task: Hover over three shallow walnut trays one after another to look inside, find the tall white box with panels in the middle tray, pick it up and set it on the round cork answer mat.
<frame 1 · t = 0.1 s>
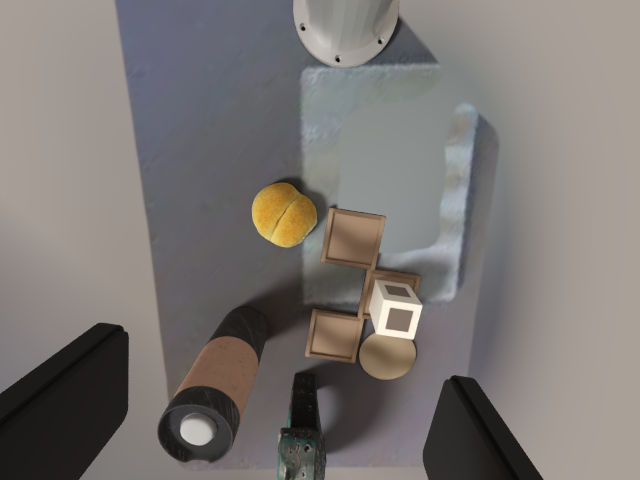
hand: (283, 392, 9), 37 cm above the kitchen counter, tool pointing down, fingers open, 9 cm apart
tray b: (387, 295, 48), on the kitchen counter
answer mat: (387, 354, 51), on the kitchen counter
white box with panels: (388, 296, 48), resting on tray b
ceramic cat: (306, 413, 54), on the kitchen counter
tray c: (333, 334, 50), on the kitchen counter
tray a: (352, 238, 46), on the kitchen counter
bread roll: (286, 213, 45), on the kitchen counter
travel mug: (245, 326, 50), on the kitchen counter
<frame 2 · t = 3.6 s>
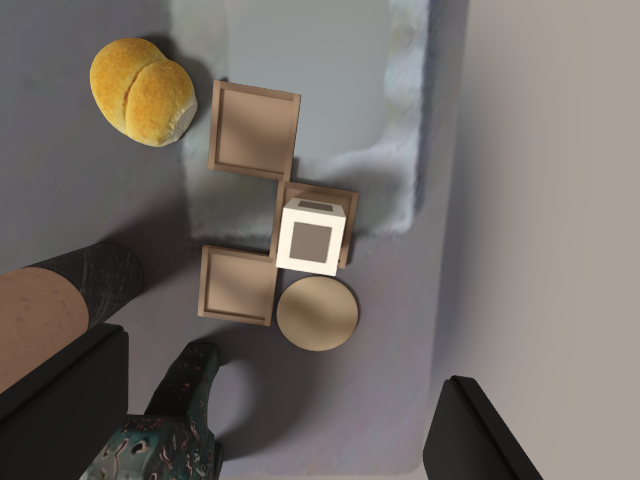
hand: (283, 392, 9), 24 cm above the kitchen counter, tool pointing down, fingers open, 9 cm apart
tray b: (313, 224, 33), on the kitchen counter
answer mat: (317, 313, 35), on the kitchen counter
white box with panels: (313, 225, 32), resting on tray b
ceramic cat: (211, 401, 39), on the kitchen counter
tray c: (239, 284, 34), on the kitchen counter
tray a: (254, 133, 31), on the kitchen counter
bread roll: (154, 97, 30), on the kitchen counter
travel mug: (112, 273, 35), on the kitchen counter
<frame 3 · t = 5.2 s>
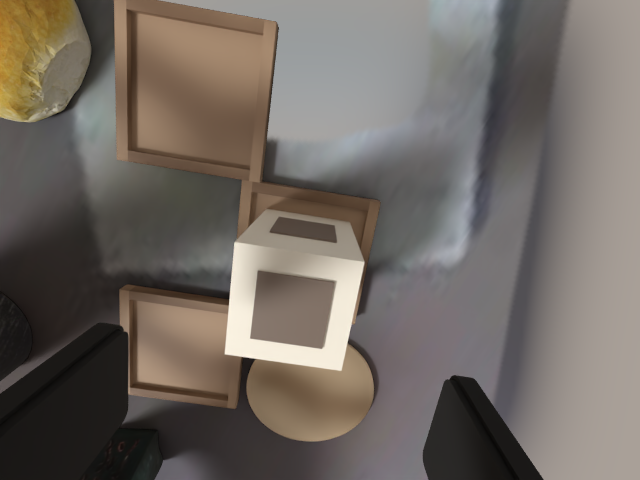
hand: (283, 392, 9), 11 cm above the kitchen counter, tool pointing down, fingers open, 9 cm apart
tray b: (302, 252, 20), on the kitchen counter
answer mat: (310, 387, 23), on the kitchen counter
white box with panels: (302, 254, 19), resting on tray b
tray c: (185, 345, 22), on the kitchen counter
tray a: (197, 97, 17), on the kitchen counter
bread roll: (18, 33, 17), on the kitchen counter
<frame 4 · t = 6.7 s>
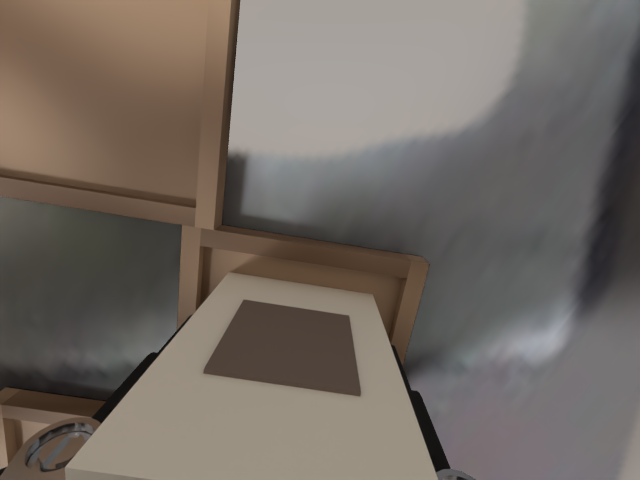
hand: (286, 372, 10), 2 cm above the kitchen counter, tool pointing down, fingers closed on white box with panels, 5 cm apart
tray b: (292, 340, 12), on the kitchen counter
white box with panels: (291, 346, 11), resting on tray b, touching gripper
tray c: (107, 477, 14), on the kitchen counter
tray a: (102, 78, 10), on the kitchen counter
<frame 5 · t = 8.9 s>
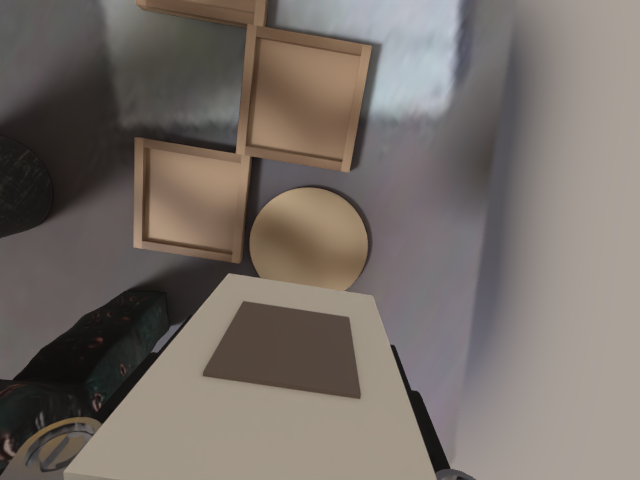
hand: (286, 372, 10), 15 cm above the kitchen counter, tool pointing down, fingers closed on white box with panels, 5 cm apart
tray b: (301, 104, 22), on the kitchen counter
answer mat: (308, 246, 24), on the kitchen counter
white box with panels: (291, 347, 11), point 13 cm above the kitchen counter, touching gripper
ceramic cat: (162, 376, 28), on the kitchen counter
tray c: (194, 201, 24), on the kitchen counter
travel mug: (8, 184, 24), on the kitchen counter
when the fingers open (3 cm above the kitchen counter, at t = 11.2 s): white box with panels drops 2 cm, resting on answer mat.
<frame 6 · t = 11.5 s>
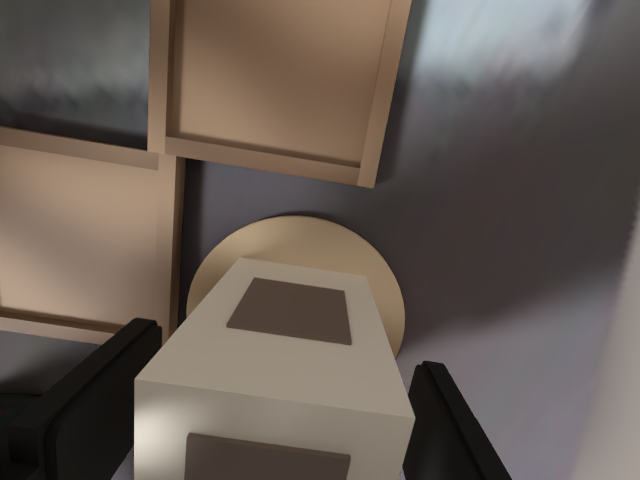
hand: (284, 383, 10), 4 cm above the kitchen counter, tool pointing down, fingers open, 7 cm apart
tray b: (279, 51, 11), on the kitchen counter
answer mat: (296, 319, 13), on the kitchen counter
white box with panels: (294, 323, 13), resting on answer mat
tray c: (81, 241, 13), on the kitchen counter
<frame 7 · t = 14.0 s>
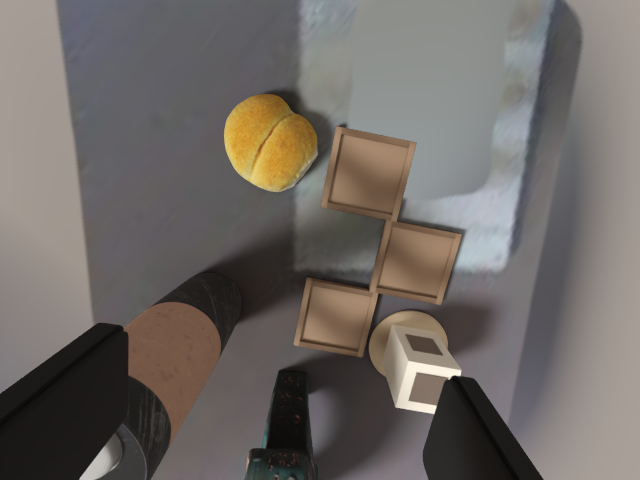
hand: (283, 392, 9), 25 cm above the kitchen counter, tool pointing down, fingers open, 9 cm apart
tray b: (412, 261, 34), on the kitchen counter
answer mat: (407, 346, 36), on the kitchen counter
white box with panels: (408, 347, 36), resting on answer mat
ceramic cat: (293, 428, 39), on the kitchen counter
tray c: (334, 316, 36), on the kitchen counter
tray a: (366, 175, 32), on the kitchen counter
bread roll: (274, 145, 32), on the kitchen counter
travel mug: (212, 301, 36), on the kitchen counter
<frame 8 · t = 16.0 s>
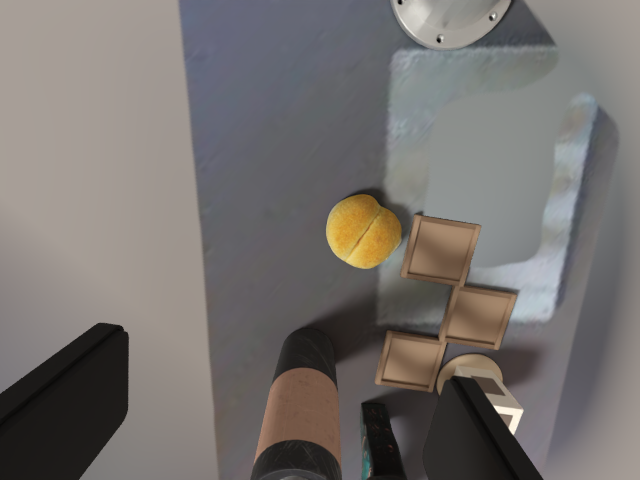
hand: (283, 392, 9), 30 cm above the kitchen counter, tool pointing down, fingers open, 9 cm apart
tray b: (474, 315, 42), on the kitchen counter
answer mat: (468, 381, 44), on the kitchen counter
white box with panels: (469, 383, 44), resting on answer mat
ceramic cat: (371, 447, 48), on the kitchen counter
tray c: (409, 359, 43), on the kitchen counter
tray a: (438, 250, 39), on the kitchen counter
bread roll: (362, 229, 39), on the kitchen counter
travel mug: (307, 350, 44), on the kitchen counter
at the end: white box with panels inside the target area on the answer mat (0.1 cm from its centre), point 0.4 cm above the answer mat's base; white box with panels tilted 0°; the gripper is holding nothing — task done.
